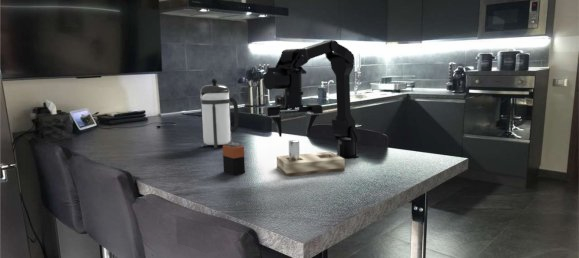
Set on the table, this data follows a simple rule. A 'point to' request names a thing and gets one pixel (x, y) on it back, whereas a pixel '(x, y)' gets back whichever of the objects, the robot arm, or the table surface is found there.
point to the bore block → (311, 164)
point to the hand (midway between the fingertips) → (293, 135)
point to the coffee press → (217, 114)
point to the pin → (293, 150)
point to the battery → (233, 158)
